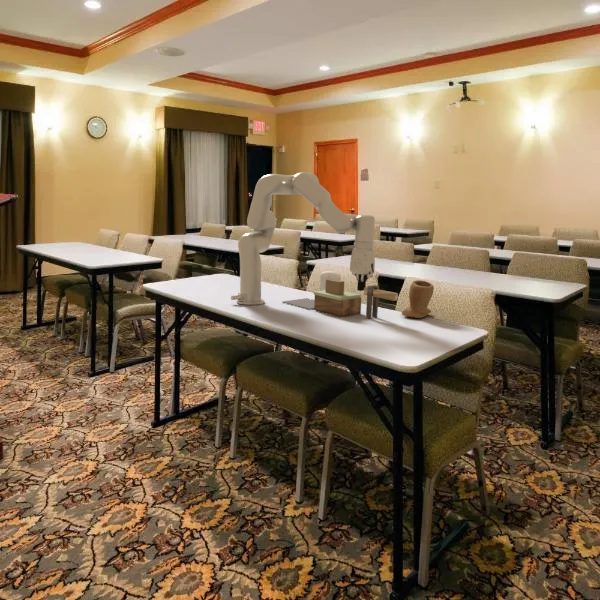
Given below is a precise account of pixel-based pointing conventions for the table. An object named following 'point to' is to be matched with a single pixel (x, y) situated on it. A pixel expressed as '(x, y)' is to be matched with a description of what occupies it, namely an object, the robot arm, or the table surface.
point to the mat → (302, 303)
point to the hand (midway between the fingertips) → (361, 290)
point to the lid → (336, 291)
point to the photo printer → (328, 275)
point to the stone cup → (419, 299)
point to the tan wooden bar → (383, 294)
